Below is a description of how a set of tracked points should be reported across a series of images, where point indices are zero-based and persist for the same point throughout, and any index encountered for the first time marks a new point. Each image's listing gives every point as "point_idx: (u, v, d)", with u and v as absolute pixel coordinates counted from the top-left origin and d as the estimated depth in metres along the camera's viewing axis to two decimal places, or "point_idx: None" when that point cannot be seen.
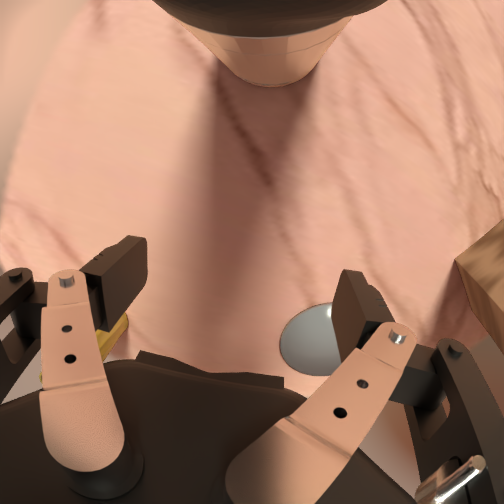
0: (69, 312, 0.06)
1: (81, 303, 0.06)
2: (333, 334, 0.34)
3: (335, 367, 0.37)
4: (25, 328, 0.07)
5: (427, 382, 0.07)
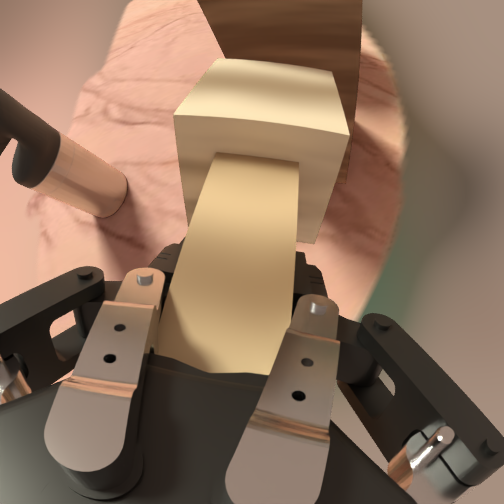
0: (129, 312, 0.06)
1: (145, 305, 0.06)
2: None
3: None
4: (85, 329, 0.08)
5: (351, 355, 0.08)
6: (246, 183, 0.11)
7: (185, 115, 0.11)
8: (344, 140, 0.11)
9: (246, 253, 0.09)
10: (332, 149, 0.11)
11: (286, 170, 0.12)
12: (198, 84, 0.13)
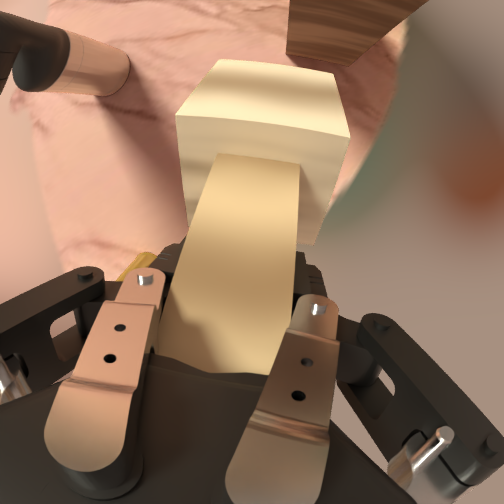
0: (129, 312, 0.06)
1: (145, 305, 0.06)
2: None
3: None
4: (86, 329, 0.08)
5: (351, 355, 0.08)
6: (247, 184, 0.11)
7: (187, 115, 0.11)
8: (345, 142, 0.11)
9: (246, 254, 0.09)
10: (333, 152, 0.11)
11: (287, 172, 0.12)
12: (200, 85, 0.13)
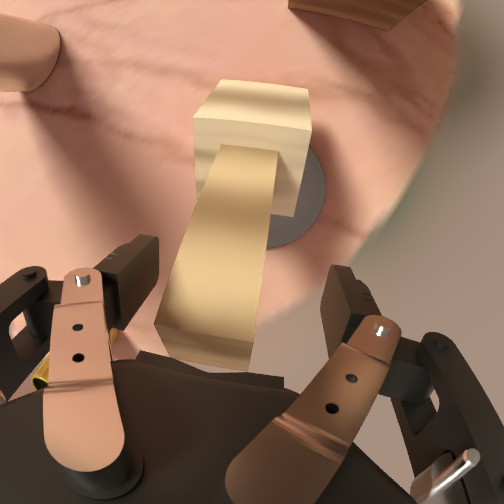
0: (81, 311, 0.06)
1: (94, 302, 0.06)
2: None
3: (304, 210, 0.28)
4: (37, 327, 0.07)
5: (412, 375, 0.07)
6: (241, 162, 0.16)
7: (201, 118, 0.16)
8: (308, 134, 0.16)
9: (240, 198, 0.14)
10: (300, 141, 0.17)
11: (269, 156, 0.17)
12: (208, 98, 0.18)
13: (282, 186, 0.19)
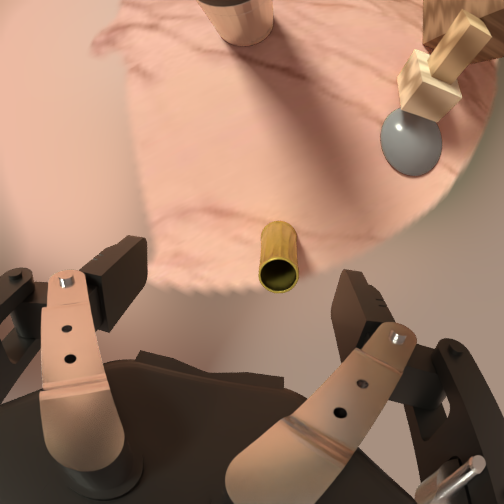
0: (69, 312, 0.06)
1: (81, 303, 0.06)
2: (409, 131, 0.42)
3: (432, 155, 0.43)
4: (25, 328, 0.07)
5: (427, 382, 0.07)
6: None
7: (417, 50, 0.31)
8: None
9: None
10: None
11: None
12: (407, 61, 0.34)
13: (452, 82, 0.30)
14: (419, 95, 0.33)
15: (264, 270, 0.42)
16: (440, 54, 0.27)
